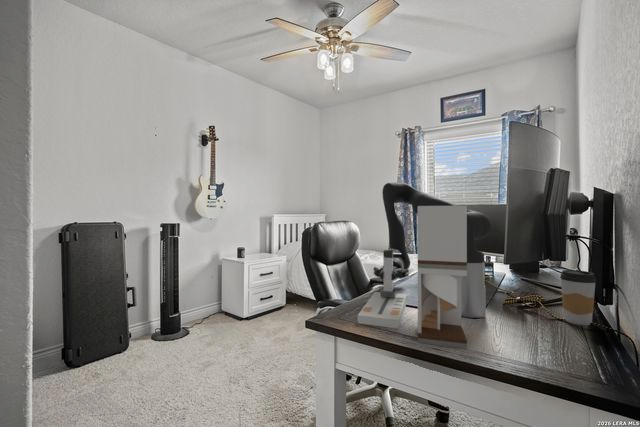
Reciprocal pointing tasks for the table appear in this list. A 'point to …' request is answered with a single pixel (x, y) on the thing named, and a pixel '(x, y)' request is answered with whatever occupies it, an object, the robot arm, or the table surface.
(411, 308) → the table surface
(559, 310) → the table surface
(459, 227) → the display case
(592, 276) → the coffee cup
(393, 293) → the fader
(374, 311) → the console
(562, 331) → the table surface
